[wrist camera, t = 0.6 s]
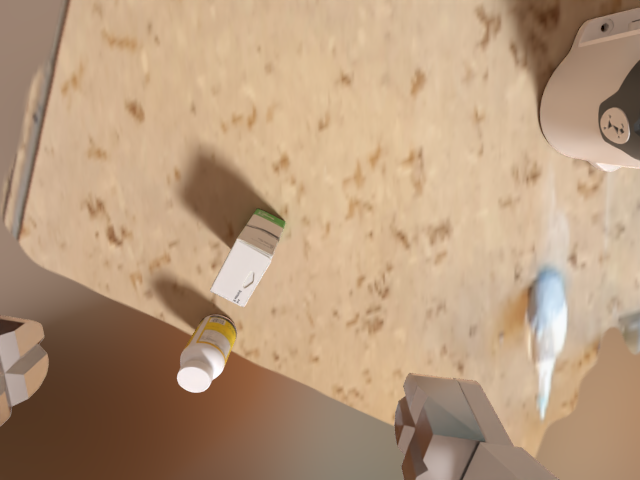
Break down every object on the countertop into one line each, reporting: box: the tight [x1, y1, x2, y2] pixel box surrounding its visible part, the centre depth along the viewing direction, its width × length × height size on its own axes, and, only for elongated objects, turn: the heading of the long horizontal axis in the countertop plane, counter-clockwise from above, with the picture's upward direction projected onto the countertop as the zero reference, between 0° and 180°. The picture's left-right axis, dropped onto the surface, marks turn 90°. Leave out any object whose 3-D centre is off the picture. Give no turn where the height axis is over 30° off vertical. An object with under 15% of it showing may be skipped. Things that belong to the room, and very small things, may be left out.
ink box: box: [210, 209, 285, 307], centre depth 47 cm, size 9×5×12 cm, turn 151°
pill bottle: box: [177, 315, 237, 393], centre depth 53 cm, size 6×6×12 cm
